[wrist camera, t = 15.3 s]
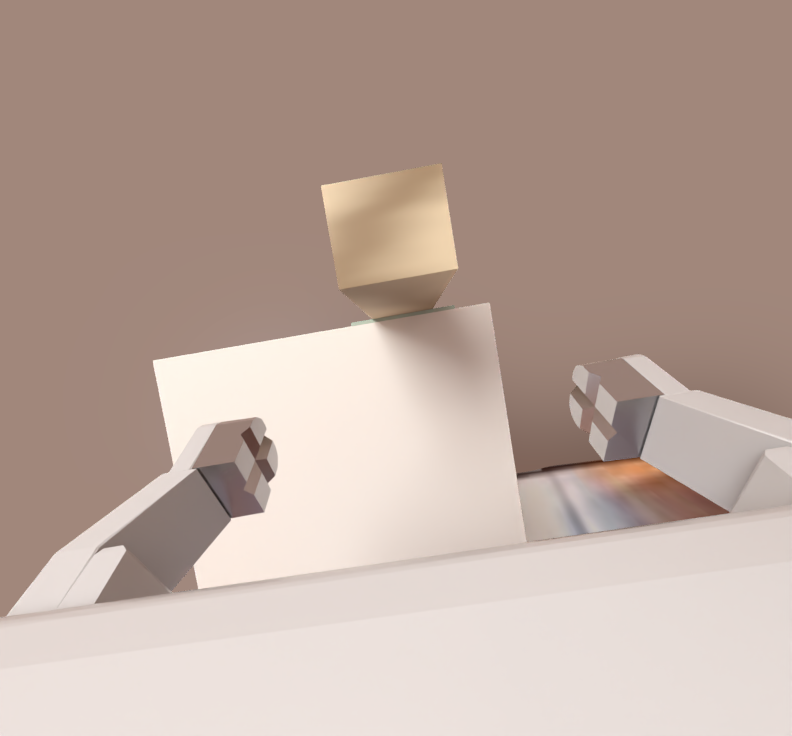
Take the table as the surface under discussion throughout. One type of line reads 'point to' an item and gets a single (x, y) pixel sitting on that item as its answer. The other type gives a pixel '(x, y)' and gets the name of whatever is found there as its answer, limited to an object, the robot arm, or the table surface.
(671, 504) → the table surface
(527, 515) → the table surface
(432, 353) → the white cardboard box
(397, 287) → the tan rectangular block
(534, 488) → the table surface
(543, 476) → the table surface
